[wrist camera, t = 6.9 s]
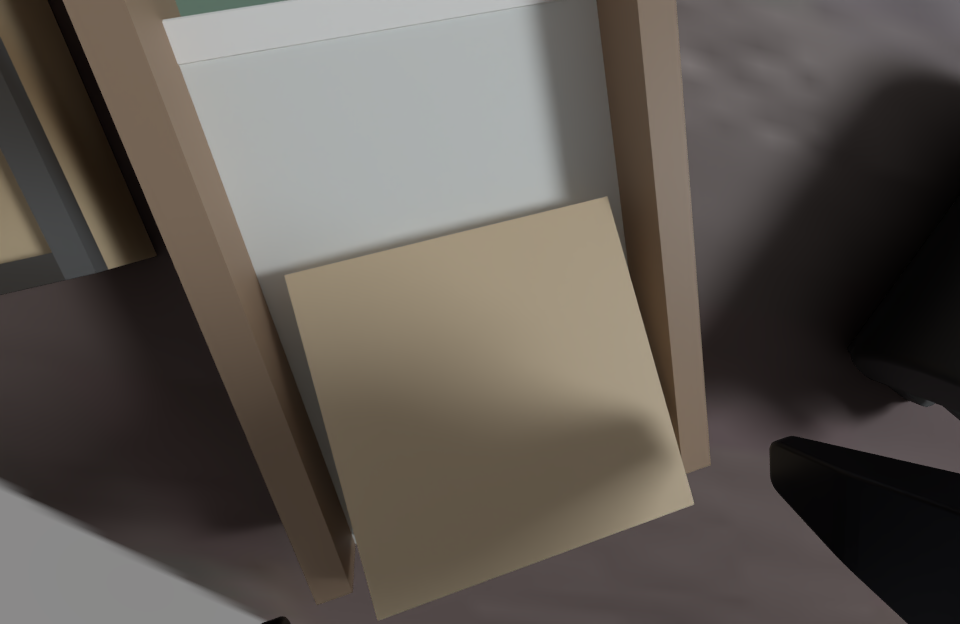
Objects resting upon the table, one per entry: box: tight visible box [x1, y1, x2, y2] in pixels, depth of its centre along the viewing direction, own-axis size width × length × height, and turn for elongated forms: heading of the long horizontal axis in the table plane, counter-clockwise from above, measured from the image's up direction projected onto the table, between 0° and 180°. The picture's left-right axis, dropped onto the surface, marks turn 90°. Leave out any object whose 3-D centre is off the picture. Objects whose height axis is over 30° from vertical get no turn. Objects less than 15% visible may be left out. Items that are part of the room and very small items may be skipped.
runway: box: [63, 0, 711, 621], centre depth 9 cm, size 19×10×5 cm, turn 12°
